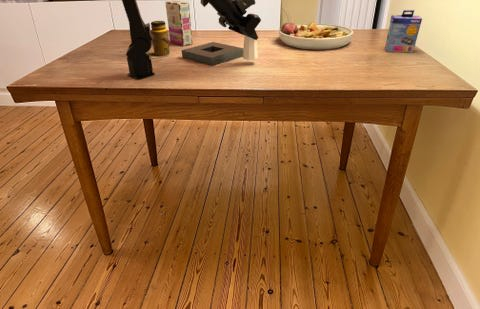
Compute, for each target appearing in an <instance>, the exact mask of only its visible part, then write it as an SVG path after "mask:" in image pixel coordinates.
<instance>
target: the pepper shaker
mask: <svg viewBox="0 0 480 309" xmlns="http://www.w3.org/2000/svg"><path fill="white" fill-rule="evenodd" d="M257 41H258V39H257V40H255V39H252V38H250V37H248V36H244V39H243V47H242V48H243V57H242V59H243V60H246V61H254V60H258V58H259V54H258V42H257Z"/></svg>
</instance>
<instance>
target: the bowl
mask: <svg viewBox="0 0 480 309" xmlns="http://www.w3.org/2000/svg"><path fill="white" fill-rule="evenodd" d="M278 36H279V38H280V40H281V42H282V43H283V44H285V45H287V46H289V47H292V48H295V49H302V50H309V51H310V50H313V51H314V50H315V51H317V50H318V51H324V50H333V49H334V50H335V49H339V48H342V47H344V46H346V45H347V44H349V43H350V42H351V41H352V39H353V37H354V31H353V29H351V28H349V27H346V26H342V25H336V24H328V23H315V22H310V23H300V24H299V23H298V24H296V23H294V22H285V23H283V24H282V26H281V28H280V29H279V31H278Z"/></svg>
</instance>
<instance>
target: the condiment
mask: <svg viewBox="0 0 480 309" xmlns="http://www.w3.org/2000/svg"><path fill="white" fill-rule="evenodd" d="M150 30H151V33H152V34H153V41H152V46H153V52H147V54H148V55H149V57H150V59H151V58H152V59H158V58H163V57H168V56H169V57H170V56H174V53H171V48H170V43H169V42H170V39H169V36H168V34H169V31H168V29H167V26H166V21H165V20H154V21H151V22H150Z"/></svg>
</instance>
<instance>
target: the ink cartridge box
mask: <svg viewBox="0 0 480 309" xmlns="http://www.w3.org/2000/svg"><path fill="white" fill-rule="evenodd" d="M414 13H415V9H411V10H410V9H407V10H406V9H404V10H403V11H402V14H400V15H399V14H394V15H393V14H392V15H391V16H390V20H389V22H390V23H389V27H388V32H387V36H386V41H385V44H384V45H385V46H384V49H385V52H390V53H414V51H415V48H416V44H417V43H416V42H417V40H418V35H419V32H420V28H421V24H422V22H423V18H422V17H421V16H420V15H414Z"/></svg>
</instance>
